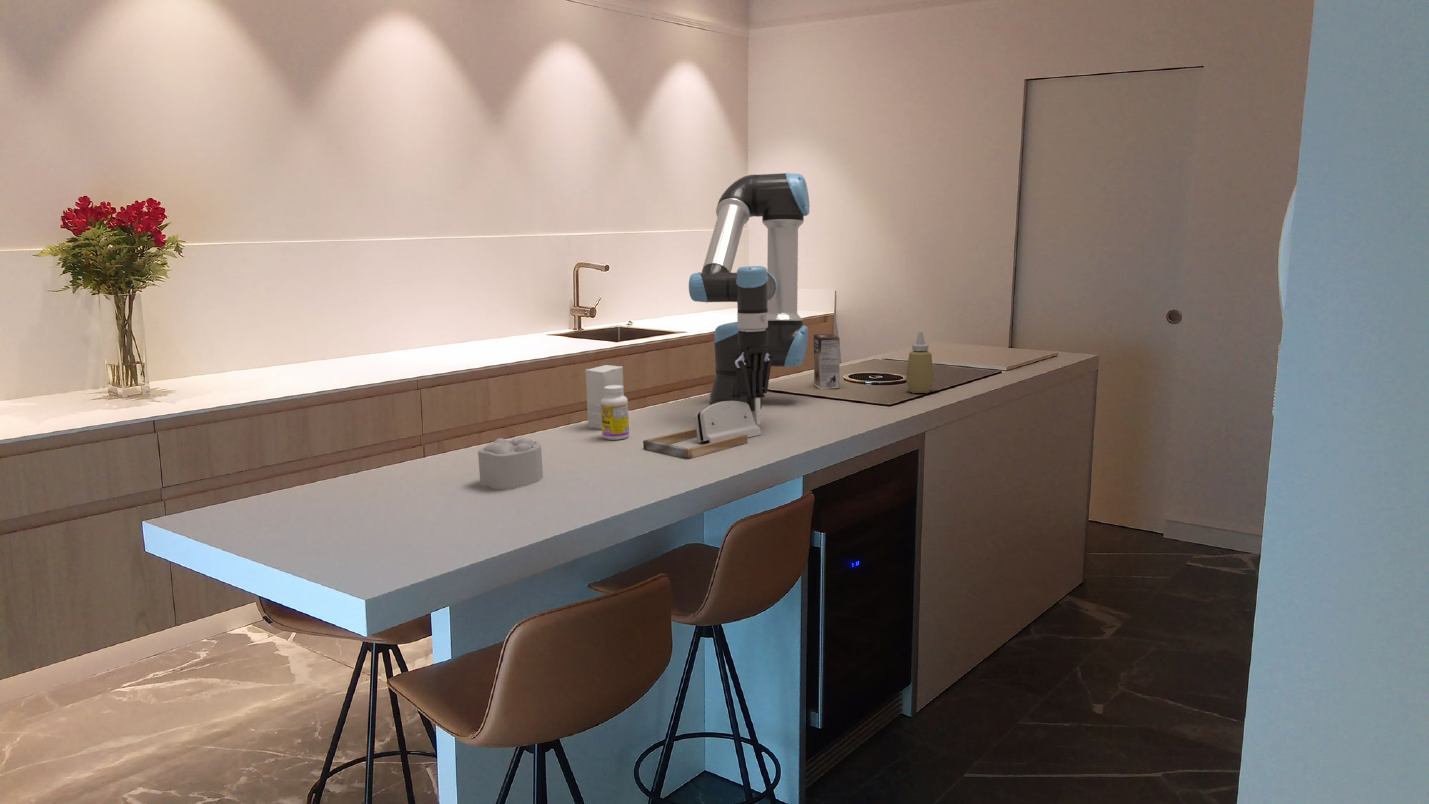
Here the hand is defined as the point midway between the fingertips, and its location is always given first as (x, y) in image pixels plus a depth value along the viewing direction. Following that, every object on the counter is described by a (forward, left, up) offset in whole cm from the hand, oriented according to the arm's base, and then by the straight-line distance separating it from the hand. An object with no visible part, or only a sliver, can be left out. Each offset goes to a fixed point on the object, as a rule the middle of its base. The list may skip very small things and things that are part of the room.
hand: (754, 423), depth 241 cm
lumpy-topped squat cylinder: (-8, -66, -2) cm, 66 cm away
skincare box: (-34, -20, -2) cm, 40 cm away
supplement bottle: (-22, -27, -2) cm, 35 cm away
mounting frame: (0, -21, -2) cm, 21 cm away
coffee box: (-24, +60, -2) cm, 65 cm away
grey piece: (0, -10, -2) cm, 10 cm away
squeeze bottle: (+4, +69, -2) cm, 69 cm away
